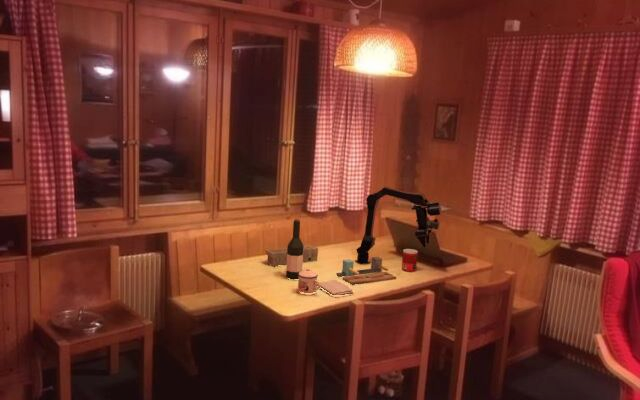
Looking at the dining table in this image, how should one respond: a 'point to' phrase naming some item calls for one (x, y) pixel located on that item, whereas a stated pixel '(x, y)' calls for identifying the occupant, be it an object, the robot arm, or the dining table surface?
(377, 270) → the gauge rail
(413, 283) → the dining table surface
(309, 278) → the teacup with lid
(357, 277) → the hole board
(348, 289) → the washcloth
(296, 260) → the wine bottle
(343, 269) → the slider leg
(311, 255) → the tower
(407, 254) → the canned food
